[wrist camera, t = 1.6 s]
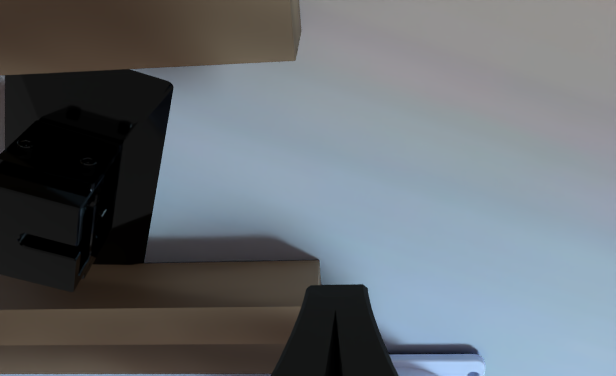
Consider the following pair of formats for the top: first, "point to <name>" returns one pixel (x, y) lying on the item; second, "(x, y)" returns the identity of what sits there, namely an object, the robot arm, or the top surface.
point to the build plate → (79, 172)
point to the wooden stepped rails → (151, 276)
